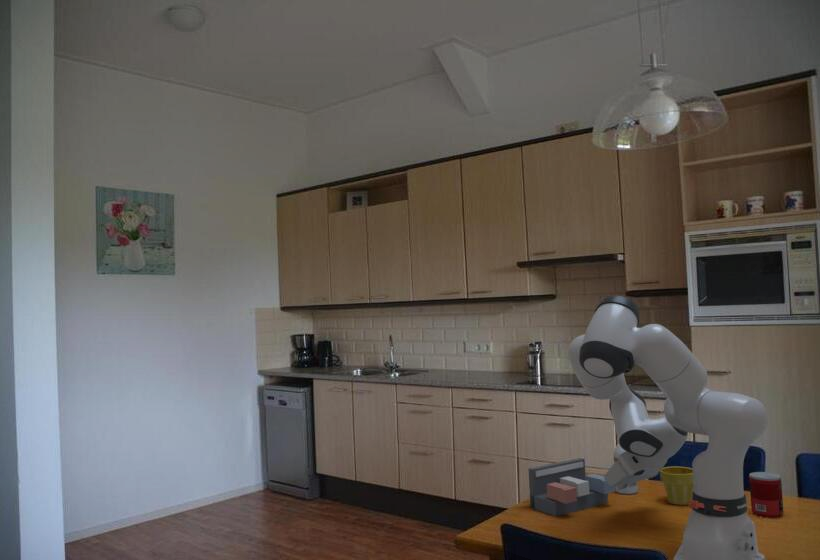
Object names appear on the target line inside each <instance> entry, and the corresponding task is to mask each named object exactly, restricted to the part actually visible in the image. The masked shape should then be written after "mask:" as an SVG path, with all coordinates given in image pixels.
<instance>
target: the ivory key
mask: <svg viewBox="0 0 820 560" xmlns="http://www.w3.org/2000/svg"><path fill="white" fill-rule="evenodd" d="M560 484H564V485H567V486H571V487H575V488H576V491H577V496H578V497H580V496H584V495H588V494H590V493H589V481H585V480H581V479H577V478H573V477H569V476H567V477H563V478H560Z"/></svg>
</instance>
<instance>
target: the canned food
mask: <svg viewBox="0 0 820 560" xmlns="http://www.w3.org/2000/svg"><path fill="white" fill-rule="evenodd" d="M748 478H749V480H748V481H749V491H750V492H749V493H750V503H751V504H750V505H751V511H752V514H753V515H755V516H757V517H760V516H761V518H765V517H768V518H767V519H777V518H776V517H779V518H781V516H782V517H783V515H784V501H783V487H782V477H781V475H780V474H778V473H774V472H769V471H768V472H766V471H755V472H753V471H752V472H750V473H749V476H748Z"/></svg>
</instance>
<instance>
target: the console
mask: <svg viewBox="0 0 820 560" xmlns="http://www.w3.org/2000/svg"><path fill="white" fill-rule="evenodd" d="M585 459H586V458H582V457H579V458H575V459H574V458H573V459H570V460H564V461H560V462H559V461H558V462H555V463H550V464H545V465H540V466H539V465H538V466H534V467H530V468H528V485H529V501H530V503H529V505H530V506H529V507H530V509H532V510H535V511H539V512H541V513H544V514H547V515H549V516H553V517H555V518H556V517H561V516H563V515H567V514H570V513H571V514H572V513H574V512H579V511H583V510H586V509H590V508H594V507H598V506H601V505H605V504H609V496H608V495H609V493H607V494H603V493H600V492H596V491H593V490H589V493H590V494H588V495H584V496H580V497H578V496H577V501H575V502H571V503H567V504H565V503H563V502H559V501H556V500H553V499H550V498H547V484H550V483H554V482H556V483H560V478H563V477H567V476H569V477H573V478H577V479H581V480H585V475H586V474H587V473H586V460H585Z"/></svg>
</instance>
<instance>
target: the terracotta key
mask: <svg viewBox="0 0 820 560" xmlns="http://www.w3.org/2000/svg"><path fill="white" fill-rule="evenodd" d="M547 498H550V499H553V500H556V501H559V502H563V503H565V504H567V503H571V502H575V501H577V491H576V488H575V487H571V486H567V485H564V484H560V483H556V482H554V483H550V484H547Z"/></svg>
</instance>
